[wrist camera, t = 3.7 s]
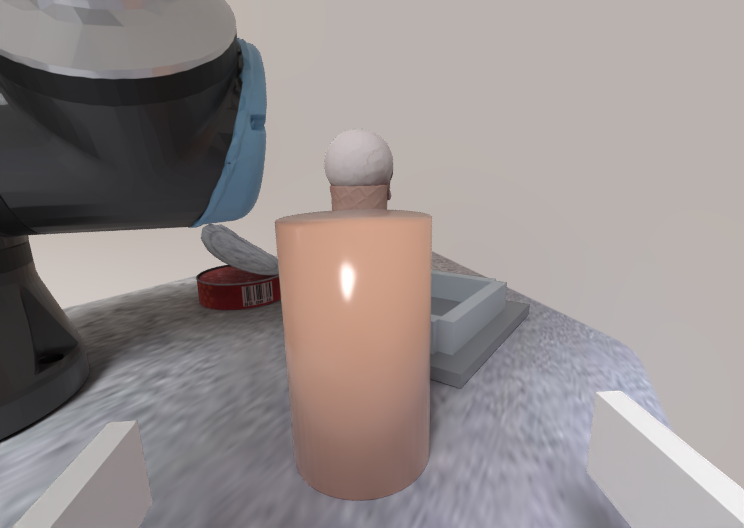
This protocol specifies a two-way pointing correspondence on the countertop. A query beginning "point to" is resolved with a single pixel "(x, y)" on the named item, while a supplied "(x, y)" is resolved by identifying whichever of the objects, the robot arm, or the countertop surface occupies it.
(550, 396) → the countertop surface
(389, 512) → the countertop surface
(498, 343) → the grey rectangular tray
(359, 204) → the ice cream cone
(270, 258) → the canned food
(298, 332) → the peach round cylinder
